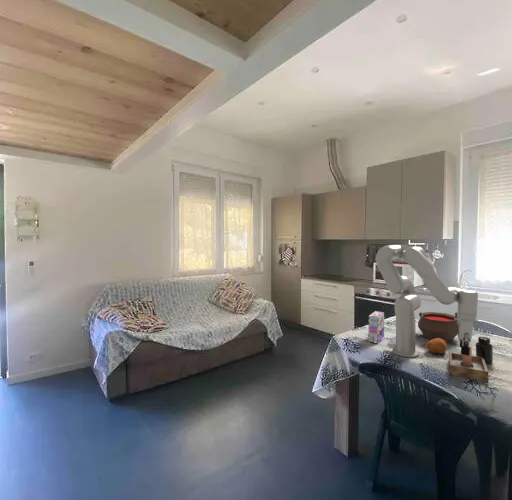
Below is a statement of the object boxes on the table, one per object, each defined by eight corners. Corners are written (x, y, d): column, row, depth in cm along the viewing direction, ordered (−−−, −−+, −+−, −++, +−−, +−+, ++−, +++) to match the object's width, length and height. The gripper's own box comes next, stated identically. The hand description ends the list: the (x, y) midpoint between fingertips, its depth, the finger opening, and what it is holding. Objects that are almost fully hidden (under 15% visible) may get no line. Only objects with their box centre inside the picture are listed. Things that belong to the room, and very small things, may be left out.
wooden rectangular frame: (450, 374, 139) (450, 365, 139) (449, 360, 154) (449, 351, 154) (488, 381, 132) (488, 371, 131) (483, 366, 147) (483, 357, 147)
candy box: (378, 344, 179) (378, 316, 178) (368, 342, 182) (368, 315, 181) (384, 337, 190) (384, 311, 189) (374, 336, 193) (374, 310, 192)
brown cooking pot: (448, 332, 198) (448, 307, 197) (470, 345, 174) (470, 317, 174) (409, 331, 201) (410, 307, 200) (426, 344, 177) (426, 317, 176)
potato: (452, 354, 162) (452, 340, 162) (435, 357, 159) (435, 343, 159) (437, 348, 171) (437, 335, 171) (421, 350, 168) (421, 337, 167)
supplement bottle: (485, 358, 156) (485, 335, 155) (496, 364, 149) (496, 340, 148) (472, 358, 156) (472, 336, 155) (482, 364, 149) (483, 340, 148)
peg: (462, 369, 144) (462, 346, 143) (462, 366, 147) (462, 344, 147) (471, 371, 142) (472, 348, 142) (471, 368, 145) (471, 345, 145)
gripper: (456, 310, 153) (454, 343, 154) (458, 319, 138) (455, 355, 140) (474, 313, 149) (472, 346, 150) (478, 322, 134) (475, 359, 136)
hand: (464, 351), depth 145 cm, fingers open, 9 cm apart
